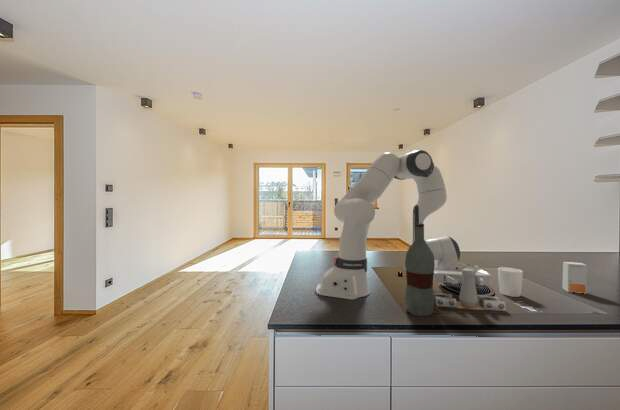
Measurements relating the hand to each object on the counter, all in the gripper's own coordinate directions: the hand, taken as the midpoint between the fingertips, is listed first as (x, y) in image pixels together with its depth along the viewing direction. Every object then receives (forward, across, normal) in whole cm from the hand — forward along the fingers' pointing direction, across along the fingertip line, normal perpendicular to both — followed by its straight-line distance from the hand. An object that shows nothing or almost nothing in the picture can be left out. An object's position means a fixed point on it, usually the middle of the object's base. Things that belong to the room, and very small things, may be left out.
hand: (468, 282), depth 91 cm
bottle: (+7, -18, +9) cm, 21 cm away
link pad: (-1, 0, +8) cm, 9 cm away
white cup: (-17, +22, +9) cm, 29 cm away
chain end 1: (-1, -8, +8) cm, 12 cm away
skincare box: (-25, +50, +9) cm, 57 cm away
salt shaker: (0, 0, +8) cm, 8 cm away
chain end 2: (-1, +8, +8) cm, 12 cm away
